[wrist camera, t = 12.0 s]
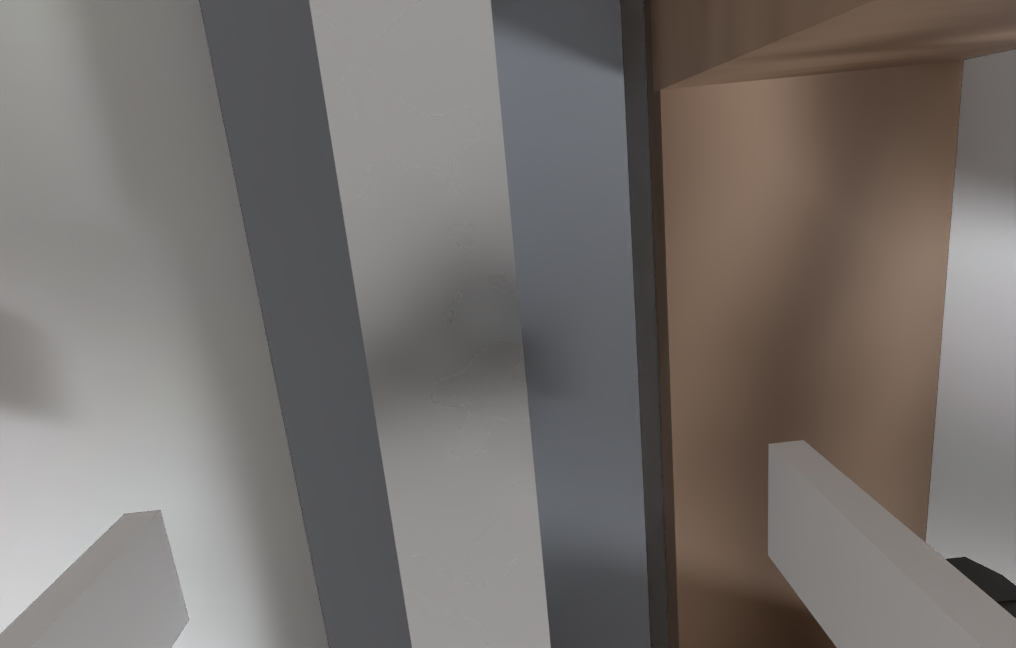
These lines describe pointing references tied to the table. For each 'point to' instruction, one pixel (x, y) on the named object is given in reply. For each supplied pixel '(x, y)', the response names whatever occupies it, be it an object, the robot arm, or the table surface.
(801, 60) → the cradle stand
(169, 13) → the table surface
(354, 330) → the rubber mat
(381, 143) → the steel bar
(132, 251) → the table surface
